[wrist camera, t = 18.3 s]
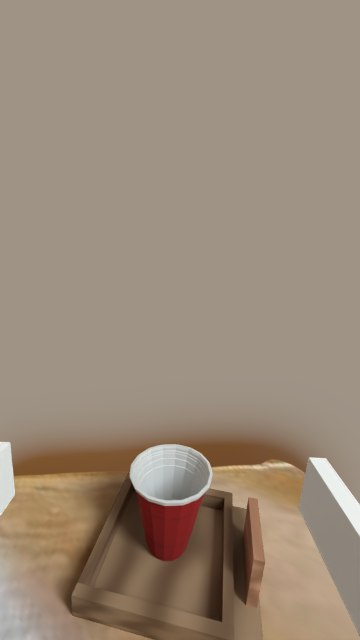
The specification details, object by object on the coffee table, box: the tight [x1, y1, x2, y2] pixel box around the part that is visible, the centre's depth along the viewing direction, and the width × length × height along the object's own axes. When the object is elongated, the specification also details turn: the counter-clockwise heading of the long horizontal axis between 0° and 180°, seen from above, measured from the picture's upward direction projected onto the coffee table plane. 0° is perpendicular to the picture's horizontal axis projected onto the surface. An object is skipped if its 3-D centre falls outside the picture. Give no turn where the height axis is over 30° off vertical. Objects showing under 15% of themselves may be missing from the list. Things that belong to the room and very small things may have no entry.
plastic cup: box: [130, 444, 213, 561], centre depth 37 cm, size 11×11×12 cm
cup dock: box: [71, 473, 265, 640], centre depth 36 cm, size 21×17×8 cm
